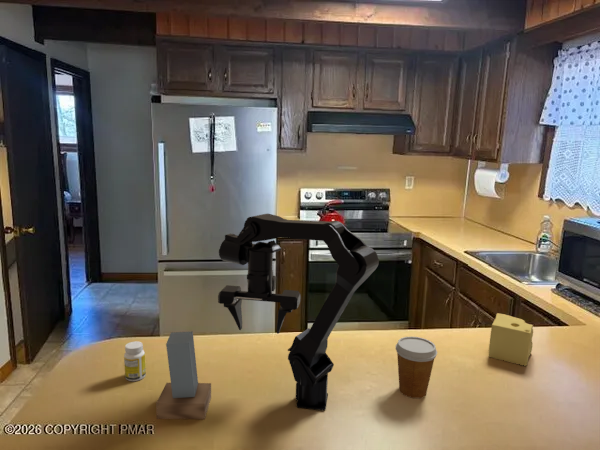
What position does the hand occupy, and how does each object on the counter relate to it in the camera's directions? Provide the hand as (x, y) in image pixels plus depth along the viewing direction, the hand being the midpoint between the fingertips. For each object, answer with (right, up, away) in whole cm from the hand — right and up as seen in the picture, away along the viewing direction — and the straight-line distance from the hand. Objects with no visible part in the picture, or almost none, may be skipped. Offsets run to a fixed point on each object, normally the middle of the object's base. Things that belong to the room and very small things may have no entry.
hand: (259, 331), depth 107 cm
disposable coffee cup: (+37, -15, 0) cm, 39 cm away
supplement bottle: (-31, -12, +3) cm, 33 cm away
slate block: (-15, -11, -10) cm, 21 cm away
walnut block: (-15, -15, -9) cm, 23 cm away
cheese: (+69, -12, +20) cm, 73 cm away
